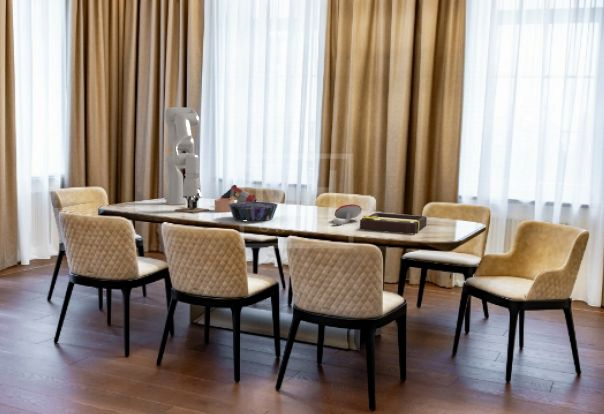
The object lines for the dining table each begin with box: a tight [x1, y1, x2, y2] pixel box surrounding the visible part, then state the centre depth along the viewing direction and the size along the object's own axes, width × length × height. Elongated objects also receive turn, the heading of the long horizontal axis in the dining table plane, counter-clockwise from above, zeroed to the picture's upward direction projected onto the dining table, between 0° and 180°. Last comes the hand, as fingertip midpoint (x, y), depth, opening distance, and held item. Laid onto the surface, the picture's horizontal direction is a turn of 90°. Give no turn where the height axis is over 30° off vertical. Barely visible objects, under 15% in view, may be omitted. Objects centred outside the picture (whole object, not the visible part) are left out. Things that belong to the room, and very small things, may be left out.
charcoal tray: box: [174, 210, 212, 215], centre depth 379 cm, size 16×16×1 cm
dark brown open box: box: [359, 212, 428, 235], centre depth 339 cm, size 28×7×30 cm
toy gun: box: [219, 184, 258, 203], centre depth 402 cm, size 5×22×15 cm, turn 80°
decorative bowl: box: [229, 201, 278, 222], centre depth 357 cm, size 26×28×10 cm
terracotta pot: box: [214, 198, 235, 213], centre depth 381 cm, size 11×11×7 cm
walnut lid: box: [174, 198, 211, 214], centre depth 379 cm, size 14×14×6 cm
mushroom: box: [332, 203, 362, 226], centre depth 353 cm, size 13×26×10 cm, turn 139°
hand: (192, 207), depth 379 cm, fingers closed on walnut lid, 3 cm apart
